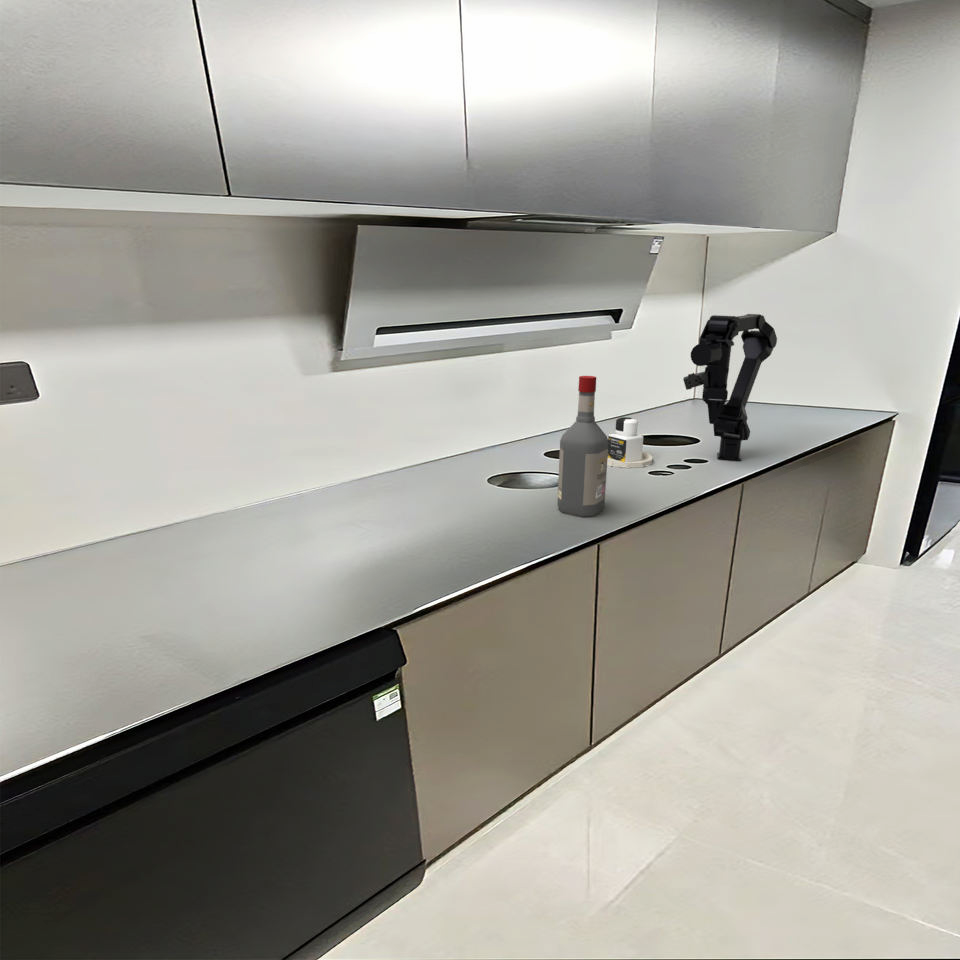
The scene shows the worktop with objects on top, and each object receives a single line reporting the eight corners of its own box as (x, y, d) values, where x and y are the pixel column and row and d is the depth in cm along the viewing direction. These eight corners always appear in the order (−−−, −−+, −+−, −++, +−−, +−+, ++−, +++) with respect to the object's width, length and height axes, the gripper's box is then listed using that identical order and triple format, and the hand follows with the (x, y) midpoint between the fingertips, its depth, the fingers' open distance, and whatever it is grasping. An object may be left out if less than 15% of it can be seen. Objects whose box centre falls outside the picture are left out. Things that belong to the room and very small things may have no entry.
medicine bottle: (606, 458, 192) (609, 417, 189) (623, 455, 196) (626, 415, 193) (624, 463, 187) (627, 421, 183) (642, 460, 190) (645, 419, 187)
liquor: (607, 508, 151) (616, 376, 142) (590, 519, 144) (598, 381, 135) (571, 500, 156) (578, 372, 147) (553, 511, 149) (558, 377, 140)
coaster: (599, 451, 201) (600, 447, 201) (654, 456, 196) (654, 451, 196) (591, 465, 187) (591, 459, 186) (649, 470, 182) (649, 465, 181)
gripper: (688, 358, 189) (682, 412, 194) (685, 365, 172) (679, 424, 177) (729, 360, 186) (723, 415, 190) (730, 367, 169) (723, 428, 173)
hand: (711, 420), depth 183 cm, fingers open, 9 cm apart
